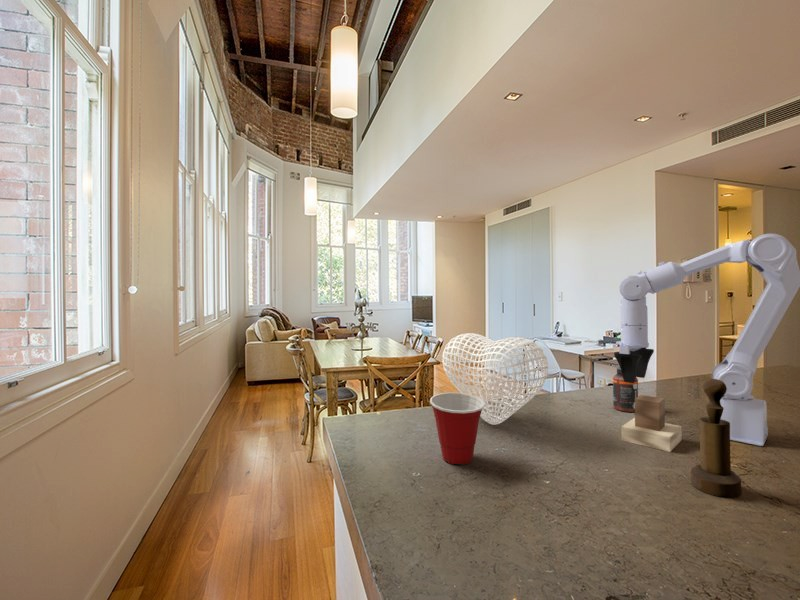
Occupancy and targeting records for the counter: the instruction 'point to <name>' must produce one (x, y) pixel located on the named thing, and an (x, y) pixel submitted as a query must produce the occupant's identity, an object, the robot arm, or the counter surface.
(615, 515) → the counter surface
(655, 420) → the walnut block
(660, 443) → the birch base block
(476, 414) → the plastic cup
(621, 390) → the supplement bottle
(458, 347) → the heart
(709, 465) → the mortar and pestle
